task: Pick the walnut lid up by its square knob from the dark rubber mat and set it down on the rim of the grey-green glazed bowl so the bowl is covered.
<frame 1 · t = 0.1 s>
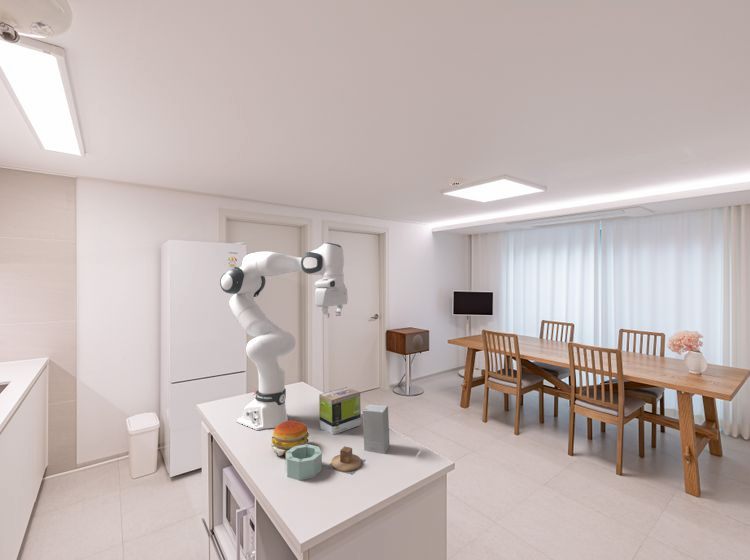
hand: (332, 316, 141), 48 cm above the kitchen island, fingers open, 8 cm apart
lid: (346, 463, 118), resting on mat
mat: (346, 464, 118), on the kitchen island
skincare box: (376, 450, 128), on the kitchen island
bowl: (303, 470, 114), on the kitchen island
tea box: (340, 427, 148), on the kitchen island
burger: (290, 450, 128), on the kitchen island
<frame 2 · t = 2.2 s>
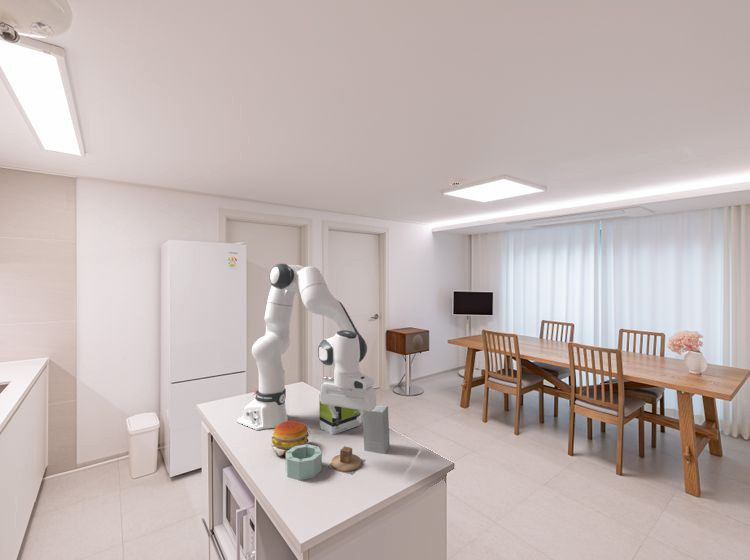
hand: (347, 419, 118), 15 cm above the kitchen island, fingers open, 8 cm apart
nothing on the kitchen island moved.
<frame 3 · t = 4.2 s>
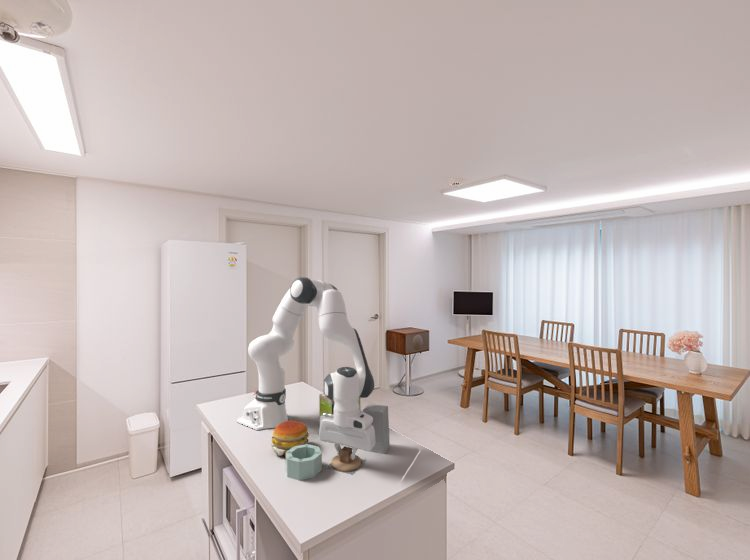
hand: (346, 457, 118), 3 cm above the kitchen island, fingers closed on lid, 3 cm apart
lid: (346, 463, 118), resting on mat, touching gripper
everything else where it was.
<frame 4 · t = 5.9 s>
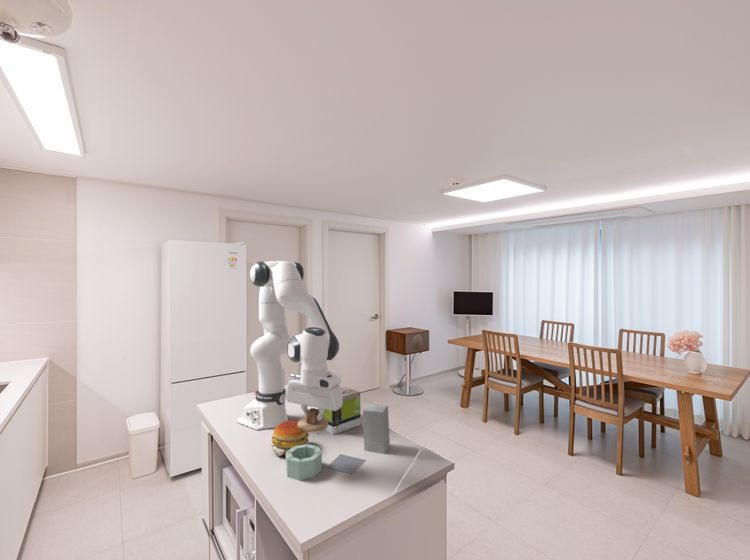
hand: (313, 419, 115), 17 cm above the kitchen island, fingers closed on lid, 3 cm apart
lid: (312, 425, 115), point 15 cm above the kitchen island, touching gripper
everything else where it was.
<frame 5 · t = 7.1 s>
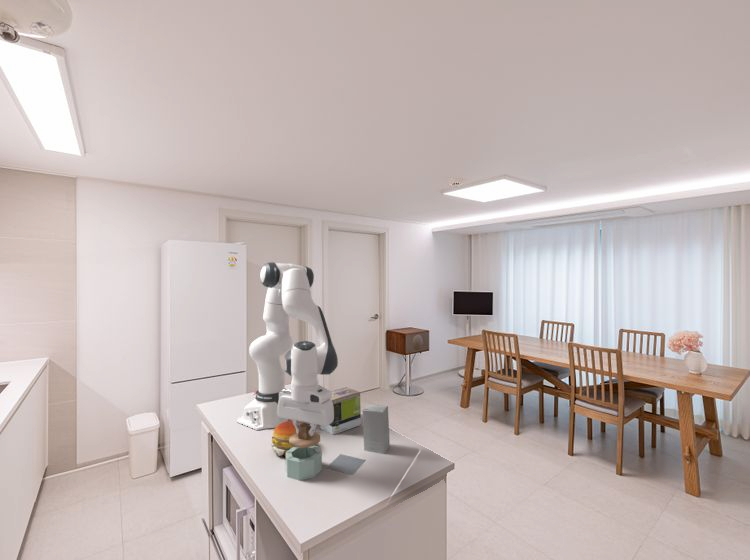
hand: (305, 434, 114), 12 cm above the kitchen island, fingers closed on lid, 3 cm apart
lid: (304, 440, 114), point 10 cm above the kitchen island, touching gripper
everything else where it was.
when the fingers open (10 cm above the kitchen island, at t = 7.8 s): lid drops 2 cm, resting on bowl.
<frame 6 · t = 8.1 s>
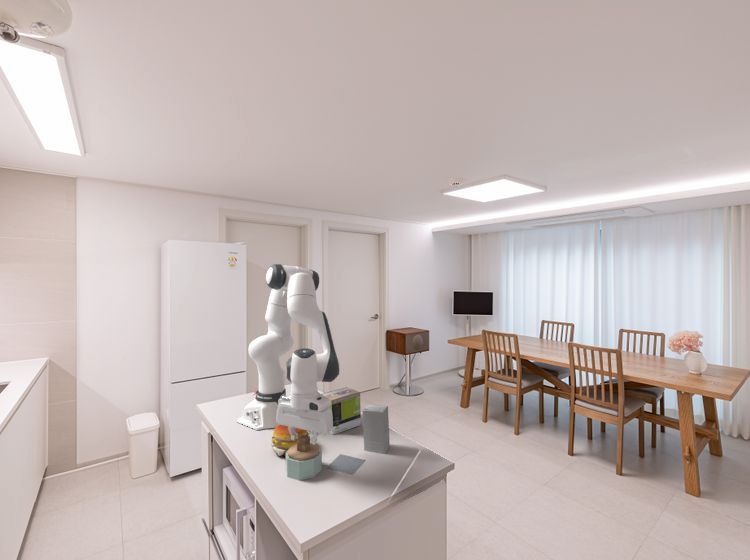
hand: (303, 441, 114), 10 cm above the kitchen island, fingers open, 6 cm apart
lid: (303, 452, 114), point 6 cm above the kitchen island, touching bowl
everything else where it was.
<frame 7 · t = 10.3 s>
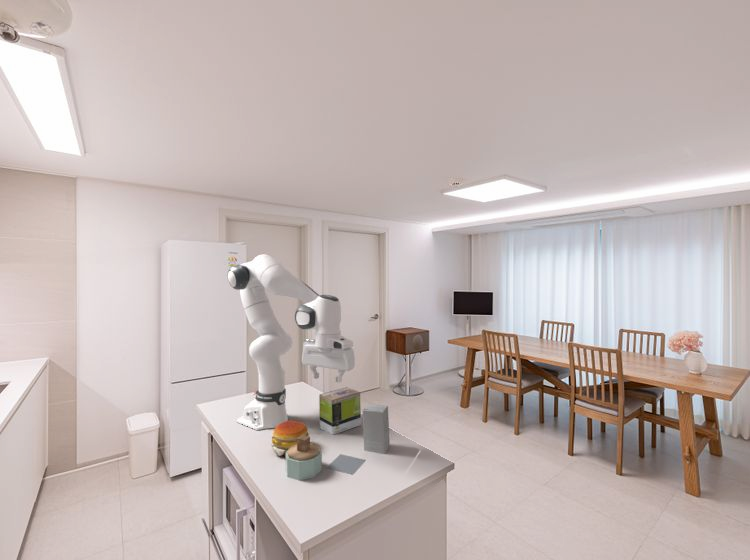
hand: (327, 380, 123), 27 cm above the kitchen island, fingers open, 8 cm apart
nothing on the kitchen island moved.
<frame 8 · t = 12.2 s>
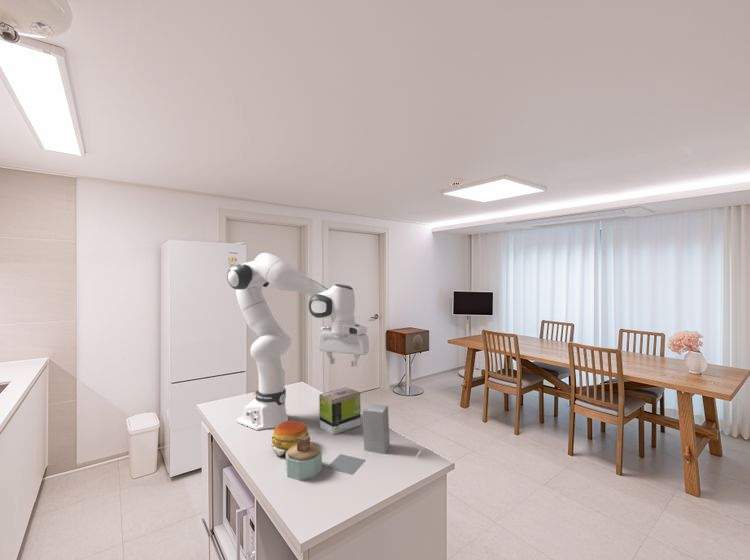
hand: (342, 364, 130), 31 cm above the kitchen island, fingers open, 8 cm apart
nothing on the kitchen island moved.
at the end: lid 0.1 cm off-centre on the bowl, point 6.0 cm above the bowl's base; lid tilted 0°; the gripper is holding nothing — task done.
